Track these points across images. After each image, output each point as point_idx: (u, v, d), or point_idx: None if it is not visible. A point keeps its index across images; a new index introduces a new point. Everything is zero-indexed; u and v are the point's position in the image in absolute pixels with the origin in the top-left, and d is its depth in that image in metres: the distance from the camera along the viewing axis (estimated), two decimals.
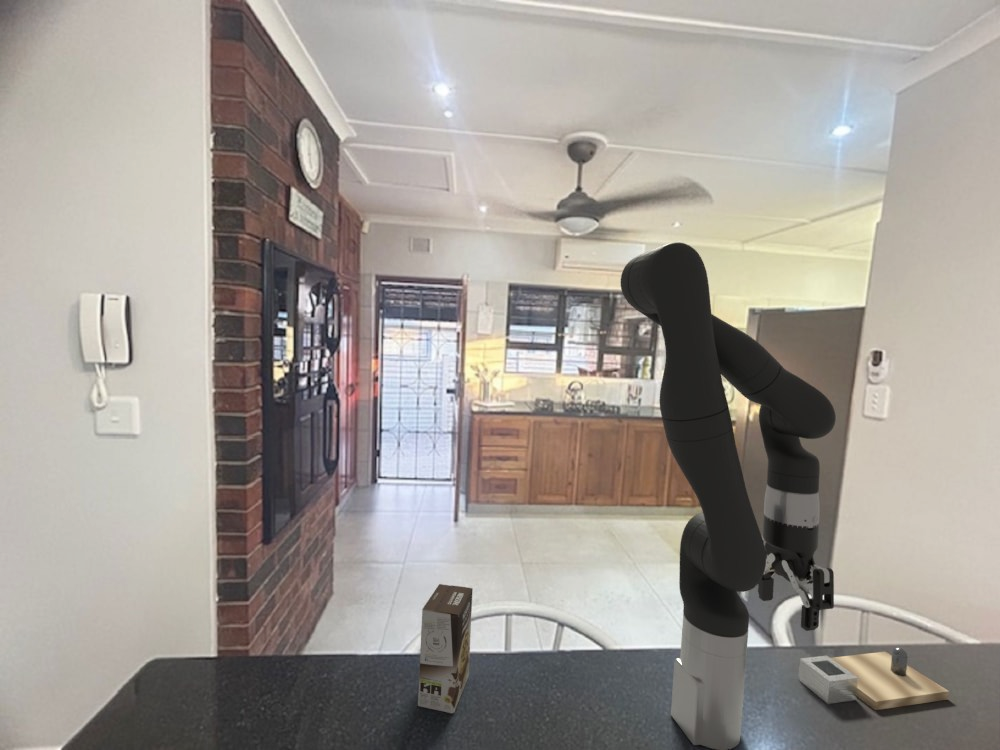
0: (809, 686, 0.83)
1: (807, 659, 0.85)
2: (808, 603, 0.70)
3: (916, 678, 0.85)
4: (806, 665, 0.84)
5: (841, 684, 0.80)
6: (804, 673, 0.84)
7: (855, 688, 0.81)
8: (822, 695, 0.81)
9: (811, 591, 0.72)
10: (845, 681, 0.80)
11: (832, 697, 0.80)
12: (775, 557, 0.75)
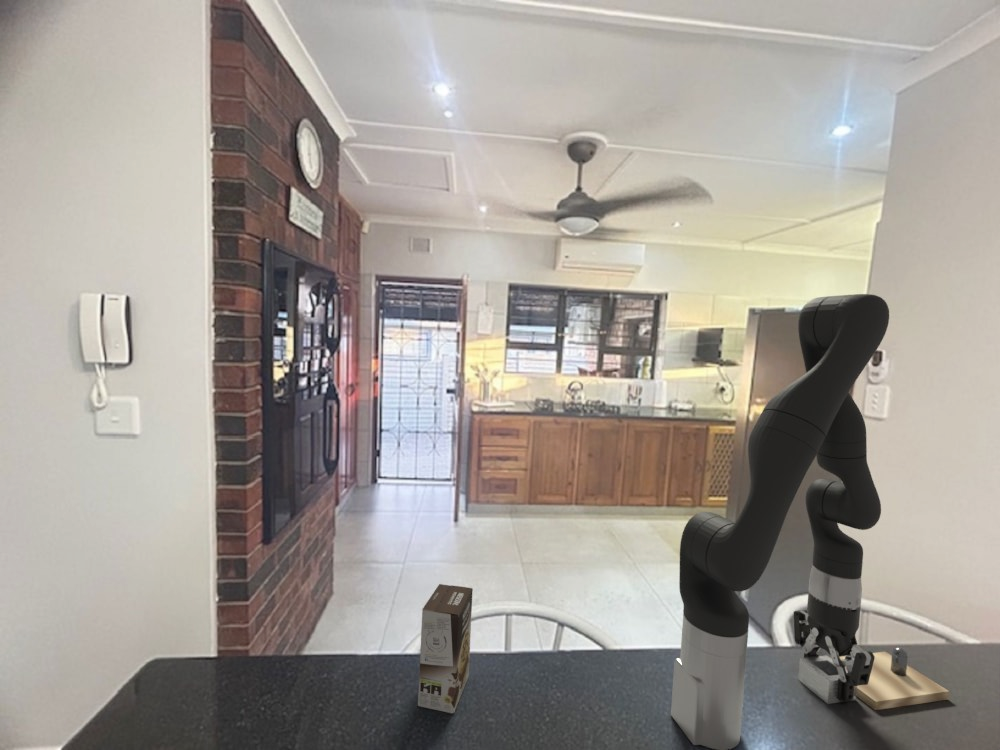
0: (809, 686, 0.83)
1: (807, 659, 0.85)
2: (844, 678, 0.79)
3: (916, 678, 0.85)
4: (806, 665, 0.84)
5: None
6: (803, 673, 0.84)
7: (855, 688, 0.81)
8: (822, 695, 0.81)
9: (848, 666, 0.80)
10: None
11: (832, 697, 0.80)
12: (819, 631, 0.83)
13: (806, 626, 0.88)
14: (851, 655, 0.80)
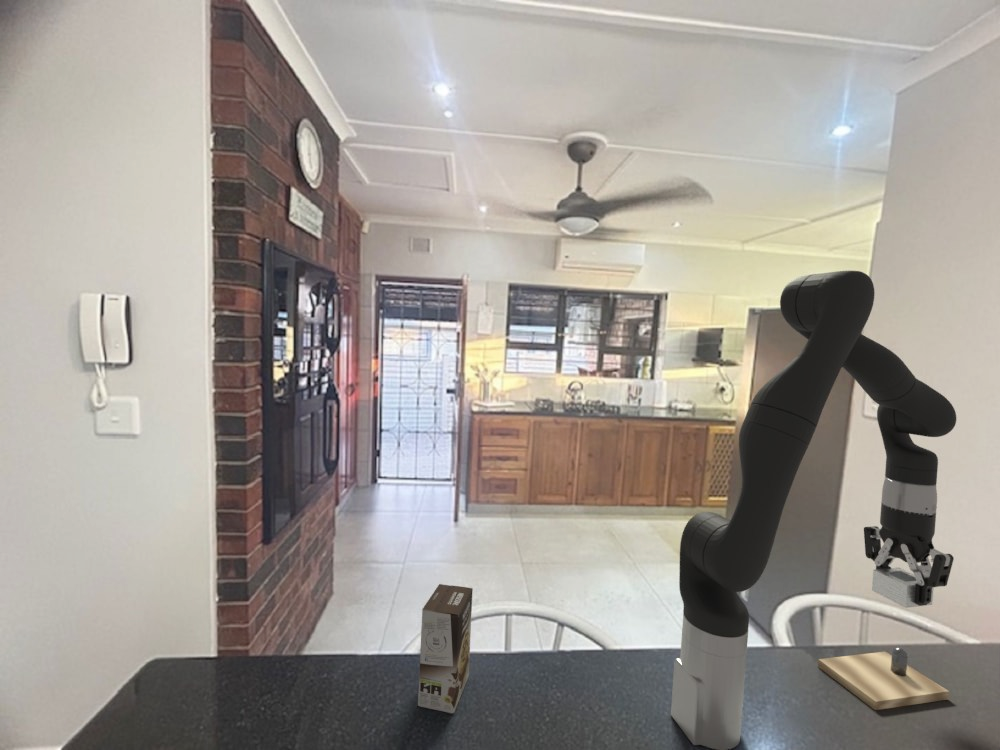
0: (884, 594, 0.86)
1: (880, 570, 0.88)
2: (922, 581, 0.81)
3: (916, 678, 0.85)
4: (881, 575, 0.86)
5: None
6: (878, 583, 0.87)
7: None
8: (899, 600, 0.83)
9: (925, 571, 0.83)
10: None
11: (910, 601, 0.82)
12: (893, 541, 0.85)
13: (877, 541, 0.90)
14: (927, 561, 0.83)
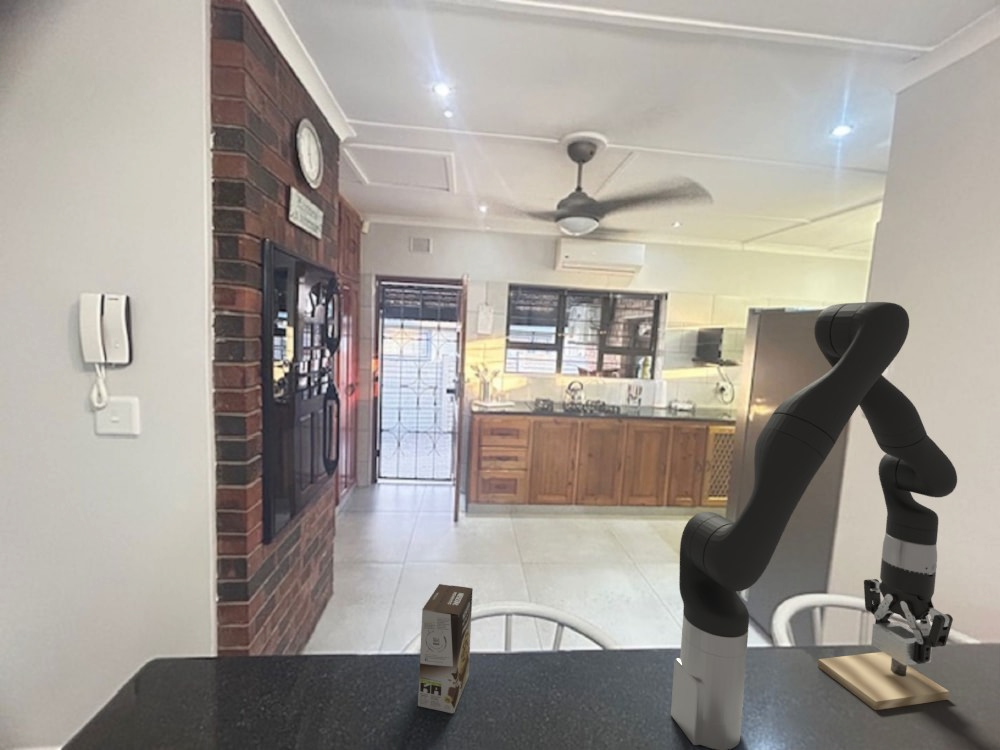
0: (884, 650, 0.86)
1: (880, 624, 0.88)
2: (922, 640, 0.82)
3: (916, 678, 0.85)
4: (880, 630, 0.87)
5: None
6: (877, 637, 0.87)
7: (930, 651, 0.84)
8: (898, 657, 0.84)
9: (924, 629, 0.83)
10: None
11: (909, 659, 0.83)
12: (893, 597, 0.86)
13: (877, 594, 0.91)
14: (926, 619, 0.83)
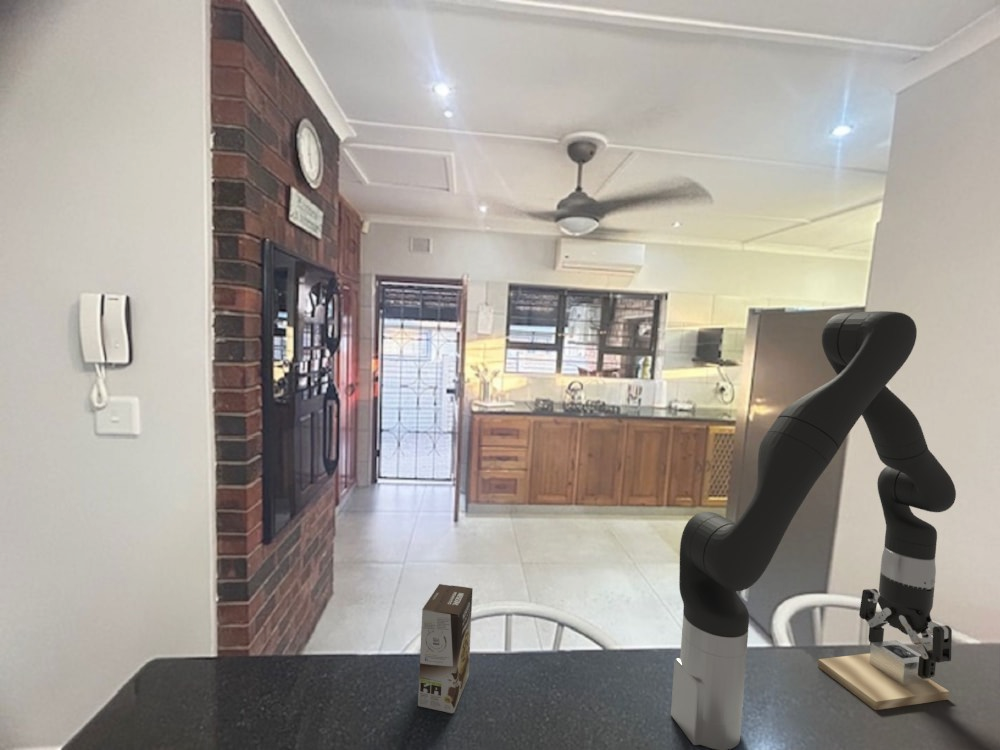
0: (882, 669, 0.86)
1: (878, 643, 0.88)
2: (927, 655, 0.81)
3: None
4: (878, 649, 0.87)
5: (915, 666, 0.83)
6: (875, 656, 0.88)
7: None
8: (896, 677, 0.84)
9: (927, 644, 0.83)
10: None
11: (907, 679, 0.83)
12: (891, 612, 0.86)
13: (873, 603, 0.92)
14: (927, 632, 0.83)
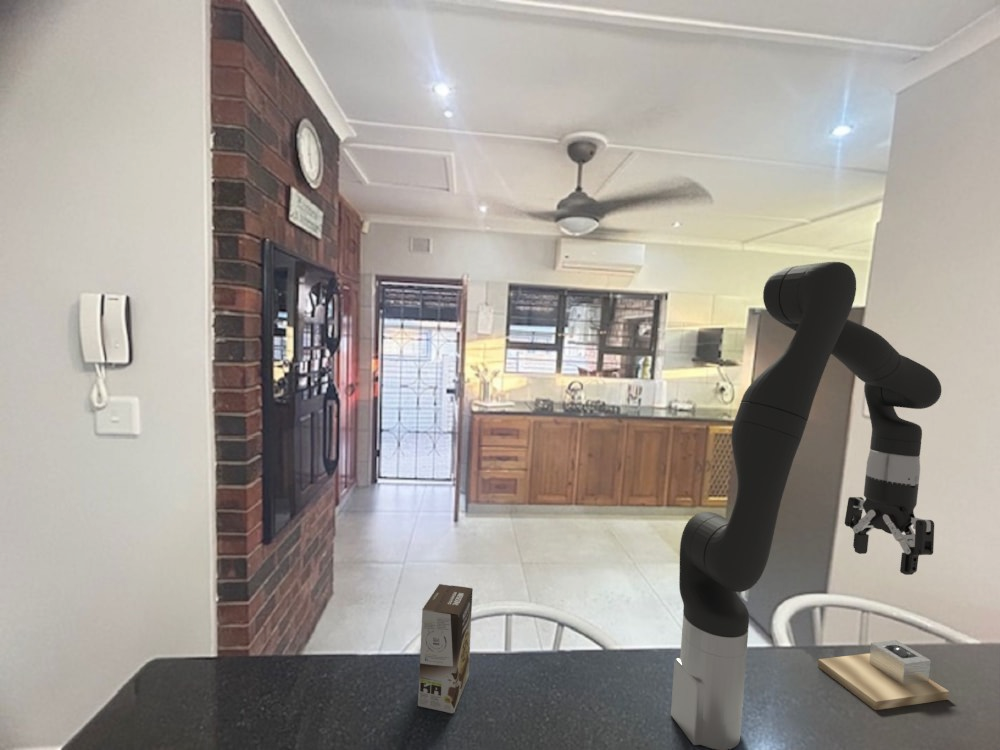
0: (882, 669, 0.86)
1: (878, 643, 0.88)
2: (909, 550, 0.81)
3: None
4: (878, 649, 0.87)
5: (915, 666, 0.83)
6: (875, 656, 0.88)
7: (928, 670, 0.84)
8: (896, 677, 0.84)
9: (910, 541, 0.83)
10: (919, 663, 0.83)
11: (907, 679, 0.83)
12: (876, 513, 0.87)
13: (859, 511, 0.92)
14: (911, 530, 0.83)
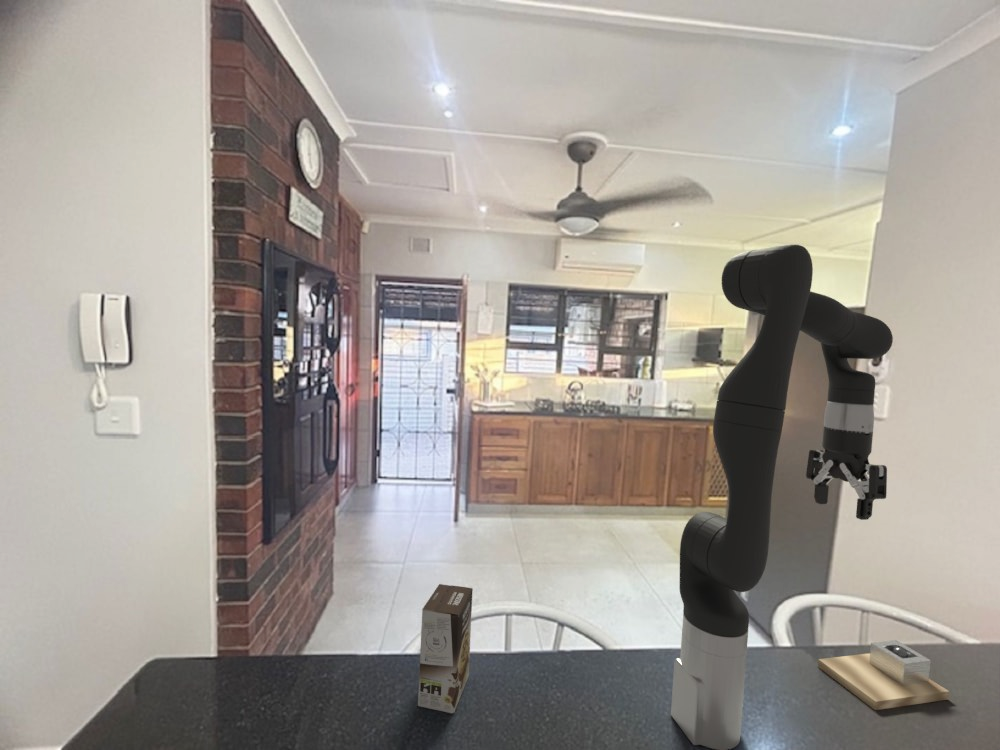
0: (882, 669, 0.86)
1: (878, 643, 0.88)
2: (864, 495, 0.84)
3: None
4: (878, 649, 0.87)
5: (915, 666, 0.83)
6: (875, 656, 0.88)
7: (928, 670, 0.84)
8: (896, 677, 0.84)
9: (865, 487, 0.85)
10: (919, 663, 0.83)
11: (907, 679, 0.83)
12: (833, 462, 0.89)
13: (819, 463, 0.94)
14: (866, 477, 0.86)
